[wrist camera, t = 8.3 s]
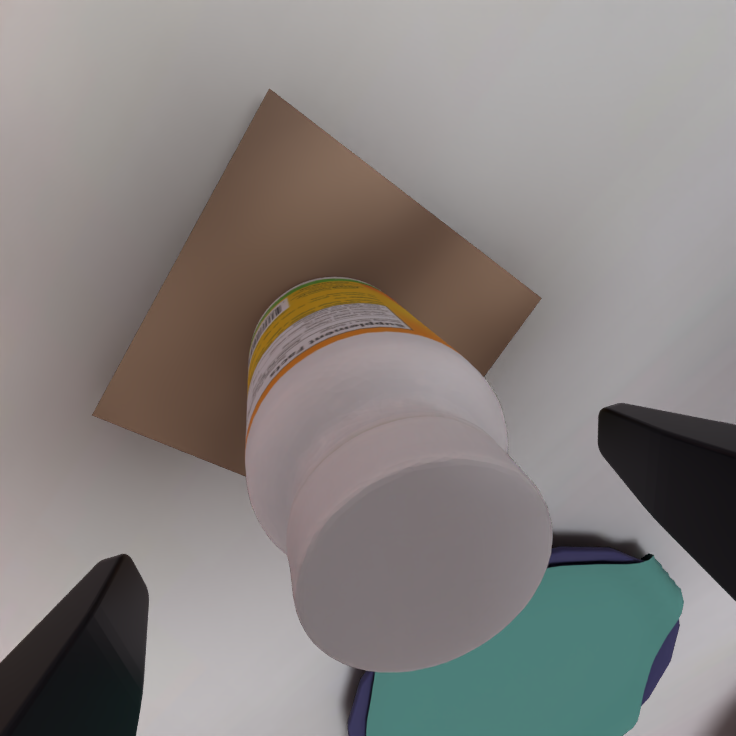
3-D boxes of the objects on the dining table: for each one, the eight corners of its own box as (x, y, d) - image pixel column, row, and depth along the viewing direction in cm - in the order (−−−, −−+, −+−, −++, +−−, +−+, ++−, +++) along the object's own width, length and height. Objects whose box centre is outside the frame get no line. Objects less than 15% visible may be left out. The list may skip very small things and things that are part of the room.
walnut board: (519, 289, 18) (541, 298, 16) (365, 503, 20) (373, 527, 19) (267, 98, 14) (269, 88, 12) (105, 395, 16) (92, 415, 14)
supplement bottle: (417, 404, 17) (593, 642, 8) (272, 442, 16) (292, 751, 7) (397, 257, 15) (607, 364, 6) (228, 293, 14) (182, 476, 5)
